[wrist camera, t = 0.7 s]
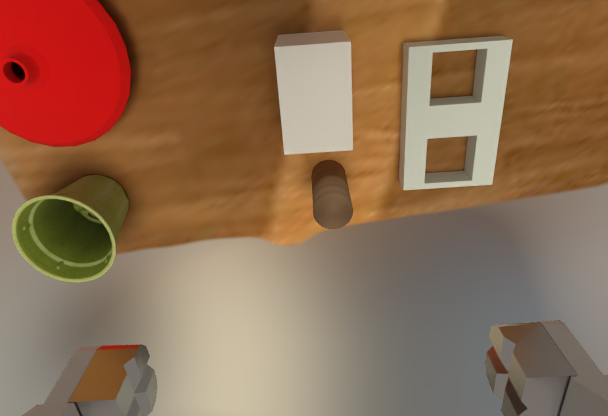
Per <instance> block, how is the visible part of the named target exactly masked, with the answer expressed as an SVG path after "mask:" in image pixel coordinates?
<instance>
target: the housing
mask: <svg viewBox="0 0 608 416" xmlns="http://www.w3.org/2000/svg"><path fill="white" fill-rule="evenodd" d="M274 51H275V62H276V72H277V83H278V93H279V104H280V114H281V124H282V135H283V145H284V155H287V154H302V153H317V152H332V151H347V150H353V126H352V72H351V41H350V39H349V38H348V36H347V34H346V33H345V31H344V30H336V31H322V32H309V33H295V34H282V35H278V37H277V40H276V43H275V46H274Z"/></svg>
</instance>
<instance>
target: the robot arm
mask: <svg viewBox="0 0 608 416" xmlns="http://www.w3.org/2000/svg"><path fill="white" fill-rule="evenodd" d="M489 339H490V341H491V343H492V345H493V346H492V347H491V348H490V349H489V350H488V351H487V354H486V361H485V364H486V374H487V378H488V381H489V384H490V387H491V389H492V391H493V393H494V394H495V395H496V396H498V397H499V398H500V399H502V400H503V403H502V408H501V411H502V413H503V415H504V416H608V375H603V374H602V372H601V371H600V370H599V368H598V367H597V366H596V364H595V363H594V362H593V360H592V359H591V358H590V356H589V355H588V354H587V352H586V351H585V350H584V348H583V347H582V346H581V345H580V343H579V342H578V340H577V339H576V338H575V337H574V335H573V334H572V333H571V331H570V330H569V329H568V327H567V326H566V325H565V323H563V322H562V321H560V320H556V321H542V322H529V323H515V324H514V323H513V324H499V325H493V326H492V328H491V329H490V335H489ZM149 357H150V356H149V353H148V350H147V347H146V346H144V345H114V346H113V345H112V346H96V347H80V348H79V349H77V350H76V351H75V352H74V354H73V356H72V357H71V359H70V361H69V362H68V364H67V366H66V367H65V369H64V371H63V372H62V374H61V376H60V377H59V379H58V381H57V382H56V384H55V386H54V387H53V389H52V391H51V392H50V394H49V396H48V397H47V399H46V401H45V402H44V404H42V405H36V406H35V407H33V408H32V409H30V410H29V411H28V412H26V413H25V414H24V415H22V416H147V415H148V414H149V413H151V411H152V410H153V407H154V403H155V401H156V393H157V379H156V375H155V371H154V369H152V368H151V367H150V366H148V365H147V362H148V360H149Z"/></svg>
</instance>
